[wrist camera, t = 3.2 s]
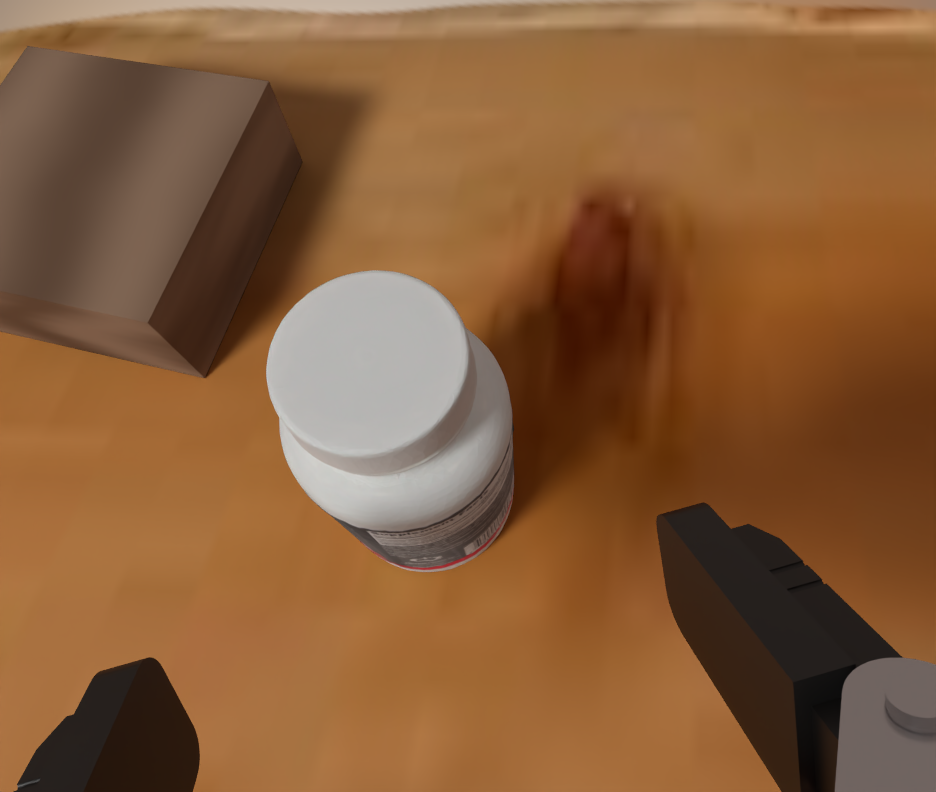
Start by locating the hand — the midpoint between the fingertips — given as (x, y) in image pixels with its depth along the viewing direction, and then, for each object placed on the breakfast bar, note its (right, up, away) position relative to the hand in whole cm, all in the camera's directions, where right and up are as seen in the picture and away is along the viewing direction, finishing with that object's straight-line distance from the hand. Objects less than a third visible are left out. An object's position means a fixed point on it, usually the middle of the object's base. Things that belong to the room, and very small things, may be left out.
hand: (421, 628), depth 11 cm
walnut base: (-12, +10, +16) cm, 22 cm away
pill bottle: (0, +1, +11) cm, 11 cm away
